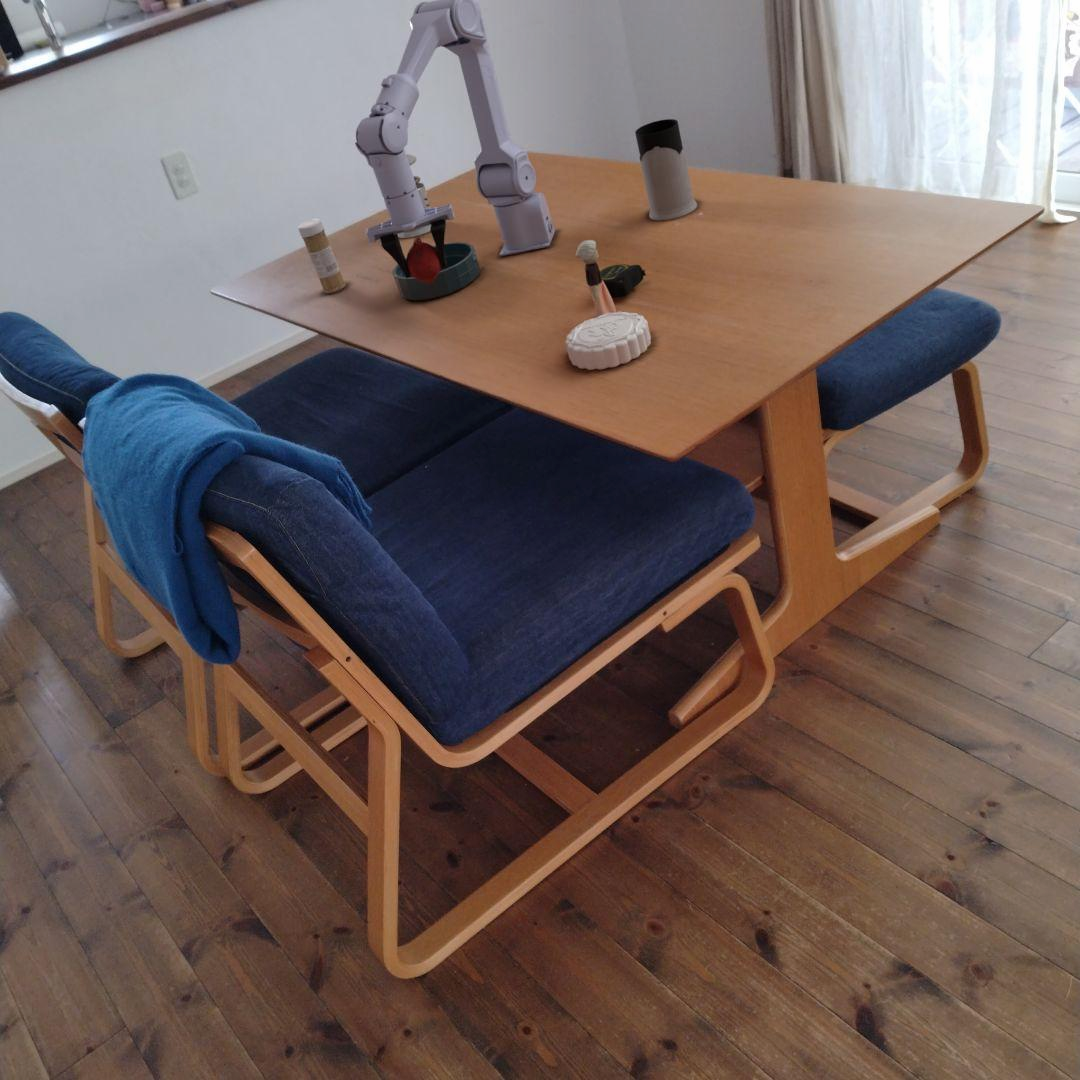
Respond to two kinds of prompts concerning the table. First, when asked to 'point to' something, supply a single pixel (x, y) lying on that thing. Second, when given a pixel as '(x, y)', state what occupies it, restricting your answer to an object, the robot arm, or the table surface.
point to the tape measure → (621, 279)
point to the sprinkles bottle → (321, 255)
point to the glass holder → (665, 170)
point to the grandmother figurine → (595, 278)
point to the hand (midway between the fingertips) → (426, 270)
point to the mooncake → (608, 340)
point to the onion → (423, 261)
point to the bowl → (442, 274)
